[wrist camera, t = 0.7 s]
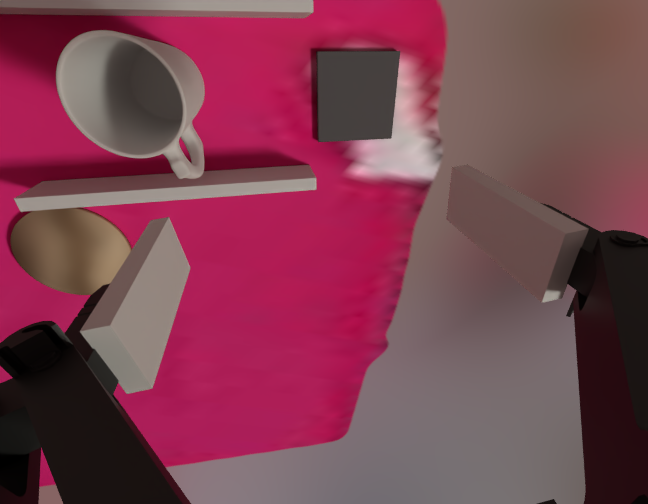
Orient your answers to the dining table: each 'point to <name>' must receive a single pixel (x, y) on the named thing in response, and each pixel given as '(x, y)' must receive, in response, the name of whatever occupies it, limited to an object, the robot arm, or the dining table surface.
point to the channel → (166, 187)
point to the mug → (133, 97)
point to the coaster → (69, 249)
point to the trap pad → (356, 94)
